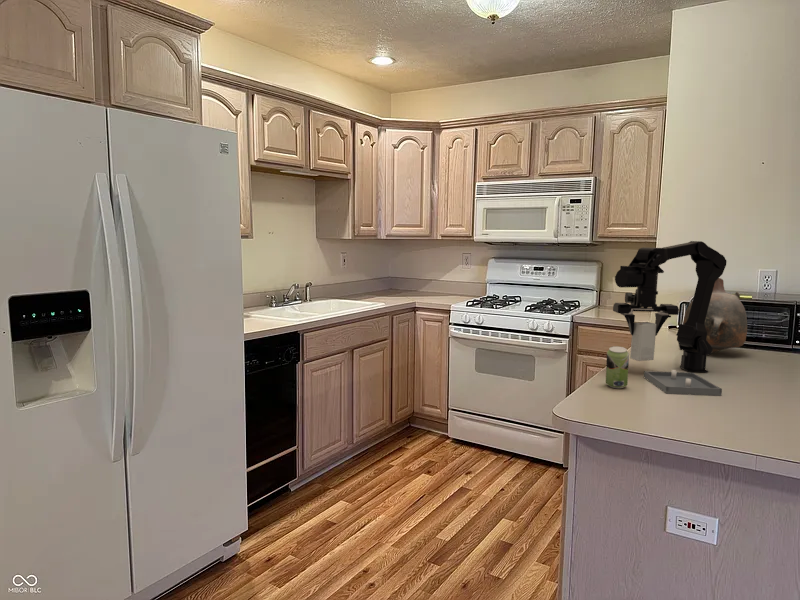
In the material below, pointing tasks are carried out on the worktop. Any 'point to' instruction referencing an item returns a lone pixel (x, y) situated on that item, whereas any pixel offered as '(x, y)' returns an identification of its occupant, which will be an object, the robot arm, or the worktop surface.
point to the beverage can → (617, 367)
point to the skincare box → (643, 341)
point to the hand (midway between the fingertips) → (643, 335)
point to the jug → (724, 319)
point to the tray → (682, 383)
